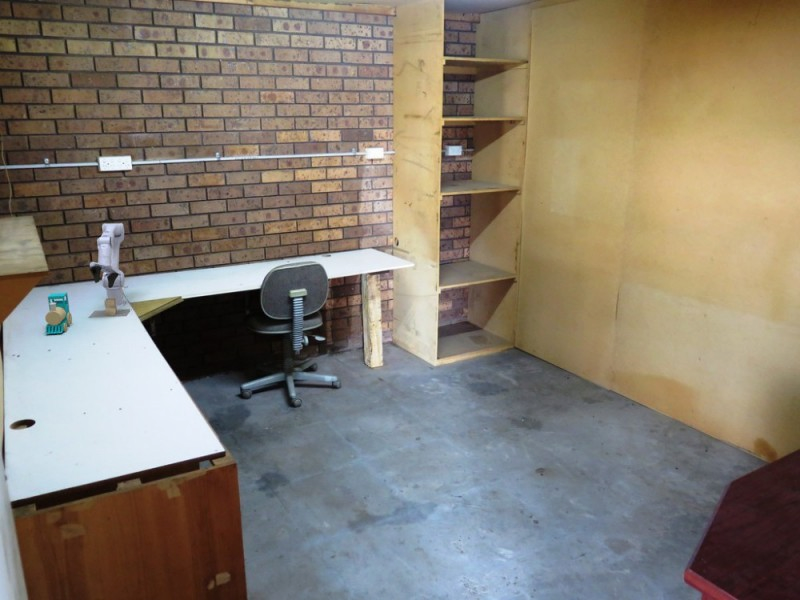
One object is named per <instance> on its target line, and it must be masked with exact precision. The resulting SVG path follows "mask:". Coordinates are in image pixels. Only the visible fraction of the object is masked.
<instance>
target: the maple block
mask: <svg viewBox="0 0 800 600" xmlns="http://www.w3.org/2000/svg"><path fill="white" fill-rule="evenodd" d="M104 305H105V307H104V308H105V310H106V316H111V315H116V314H117V310H118V309H117V306H116V299H115V298H106V299H104Z"/></svg>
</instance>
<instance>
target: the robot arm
mask: <svg viewBox="0 0 800 600" xmlns="http://www.w3.org/2000/svg"><path fill="white" fill-rule="evenodd" d="M101 229H102V230H101V231H102V234H101V236H100V237H99V238H98V237H97V240H96V242H97V250H98V258H97V262H95V261H90V262H89V267H90V269H89V271H90V273H91V275H92V278H93V280H94V283H95V284H97V283H99V282H100V277H101V272H102V277H101V284H102V285H101V286H102V287H103V288H104V289H105V290H106V297H107V298H115V299H116V307H123V306H124V305H125V304H126V303H127V301H126V300H125V297H124V289H123V287H125V285H126V284H125V273H124V272H123V271H122V270H120V268H119V265H120V264H119V263H120V246H121V243H122V242H123V241H124V239H125V225H124V224H123V223H121V222H120V223H102V225H101ZM107 298H106V299H107ZM125 302H126V303H125Z"/></svg>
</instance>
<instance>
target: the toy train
mask: <svg viewBox="0 0 800 600" xmlns="http://www.w3.org/2000/svg"><path fill="white" fill-rule="evenodd" d="M47 301H48V308H49V311H48V312H47V313H46V314H45V316H44V317H45V318H44V319H45V322H46V324H45V334H48V335H49V334H52V335H53V334H62V333H63V332H65V333H66V332H67V331H68V327H71V325H72V323H73V316H72V313H71V312H70V304H69V297H68V292H53V293H50V294H49V295H48V296H47Z"/></svg>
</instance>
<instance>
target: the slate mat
mask: <svg viewBox="0 0 800 600" xmlns="http://www.w3.org/2000/svg"><path fill="white" fill-rule="evenodd" d="M130 309H131V308H129V309H127V308H125V309H117V314H116V315H111V316H106V309H105V310H104V309H102V310H99V309H98V310H94V311H92V313H91V314H90V315H89V316H88V317H87V318H88V319H94V318H98V319H99V318H115V317H119V318H121V317H127V316H128V315H129V313H130V312H131V311H130Z"/></svg>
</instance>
